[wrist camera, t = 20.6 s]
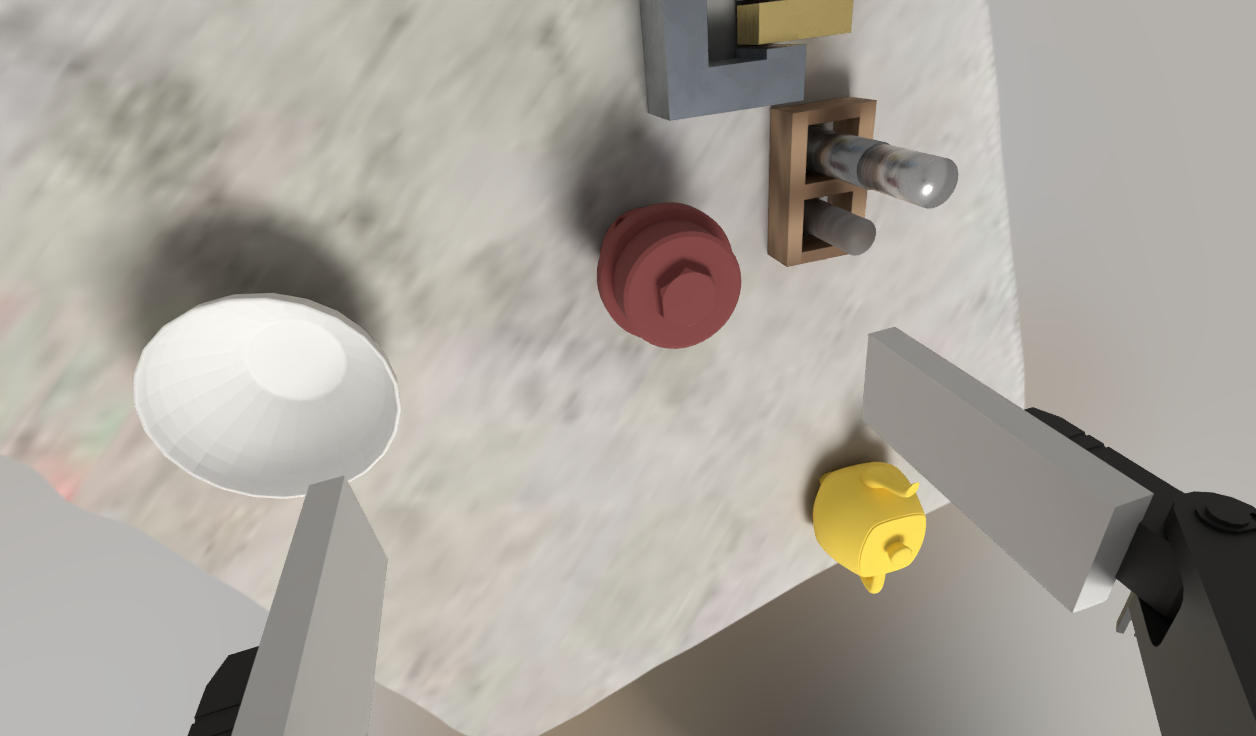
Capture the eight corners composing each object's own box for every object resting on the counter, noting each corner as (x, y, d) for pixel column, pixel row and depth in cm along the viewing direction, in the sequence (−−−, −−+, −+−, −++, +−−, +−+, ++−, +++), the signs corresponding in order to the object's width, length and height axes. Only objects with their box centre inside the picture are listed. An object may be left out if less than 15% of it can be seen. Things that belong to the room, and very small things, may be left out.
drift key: (737, 5, 42) (759, 3, 39) (825, -5, 43) (854, -9, 40) (737, 44, 43) (758, 44, 40) (823, 33, 44) (850, 32, 41)
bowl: (239, 216, 40) (203, 247, 34) (445, 334, 48) (445, 375, 42) (135, 388, 44) (86, 442, 38) (343, 471, 52) (329, 527, 46)
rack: (770, 108, 46) (825, 120, 39) (850, 96, 47) (916, 105, 41) (767, 254, 52) (815, 285, 46) (838, 240, 53) (894, 268, 47)
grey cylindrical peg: (791, 129, 47) (917, 160, 35) (827, 123, 48) (963, 152, 35) (790, 169, 49) (909, 213, 36) (824, 163, 50) (954, 205, 37)
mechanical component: (561, 282, 48) (604, 163, 45) (666, 313, 52) (713, 206, 49) (592, 348, 38) (652, 200, 34) (720, 380, 42) (785, 251, 38)
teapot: (812, 434, 64) (871, 498, 55) (899, 416, 67) (970, 475, 58) (795, 551, 73) (844, 622, 64) (872, 532, 76) (930, 598, 67)
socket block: (635, -49, 39) (658, -61, 35) (774, -63, 41) (811, -75, 36) (648, 113, 44) (669, 120, 40) (770, 95, 46) (803, 100, 41)
